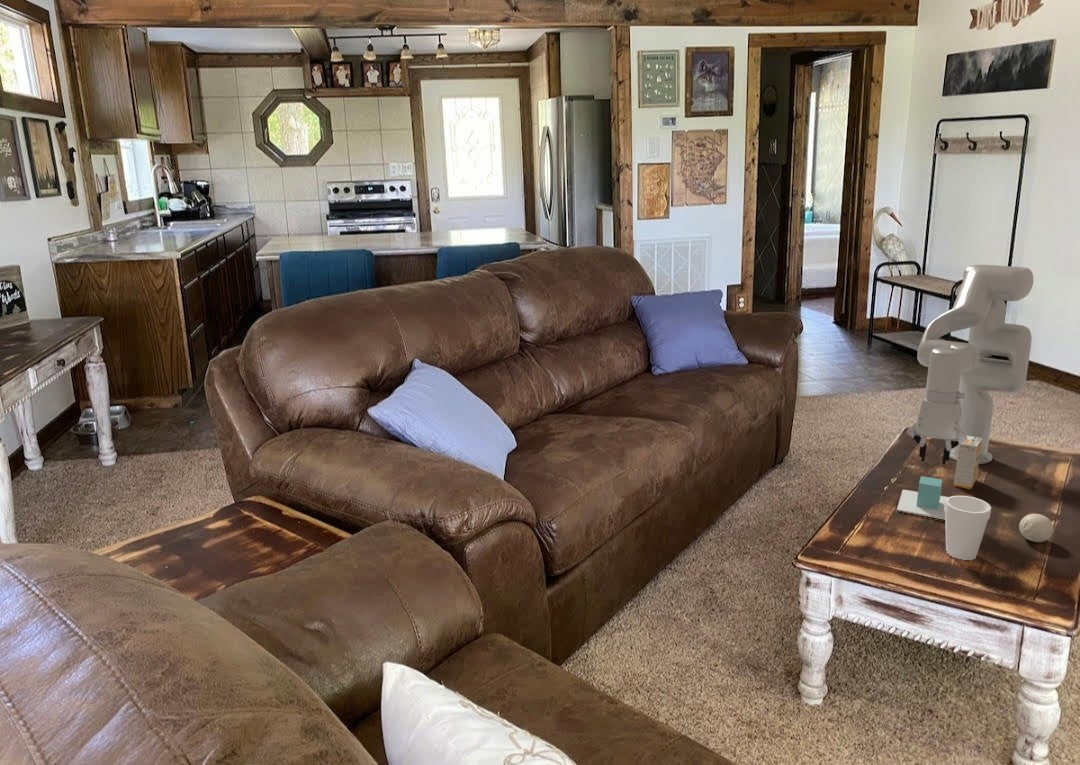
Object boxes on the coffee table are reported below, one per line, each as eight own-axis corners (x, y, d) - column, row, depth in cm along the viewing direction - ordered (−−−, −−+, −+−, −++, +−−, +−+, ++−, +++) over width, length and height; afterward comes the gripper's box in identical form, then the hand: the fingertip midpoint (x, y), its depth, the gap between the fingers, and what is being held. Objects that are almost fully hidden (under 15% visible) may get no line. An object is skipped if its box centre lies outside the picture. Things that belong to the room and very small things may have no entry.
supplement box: (972, 490, 220) (978, 446, 217) (953, 486, 223) (958, 443, 219) (977, 480, 227) (983, 437, 223) (958, 476, 229) (964, 434, 226)
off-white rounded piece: (1010, 537, 194) (1013, 512, 192) (1031, 531, 197) (1035, 507, 195) (1035, 549, 188) (1039, 524, 186) (1057, 543, 190) (1061, 518, 189)
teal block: (918, 498, 214) (921, 476, 213) (939, 502, 212) (942, 479, 210) (916, 505, 210) (919, 483, 208) (938, 509, 208) (940, 486, 206)
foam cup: (944, 540, 193) (951, 492, 190) (987, 551, 188) (994, 501, 184) (934, 556, 186) (941, 506, 183) (978, 568, 181) (986, 516, 177)
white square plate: (902, 492, 220) (904, 470, 219) (958, 501, 214) (961, 479, 212) (896, 512, 209) (899, 489, 207) (955, 522, 202) (958, 499, 200)
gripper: (979, 395, 201) (970, 461, 207) (907, 387, 209) (900, 451, 215) (978, 403, 195) (969, 472, 200) (904, 395, 203) (897, 461, 208)
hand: (933, 460), depth 207 cm, fingers open, 4 cm apart
